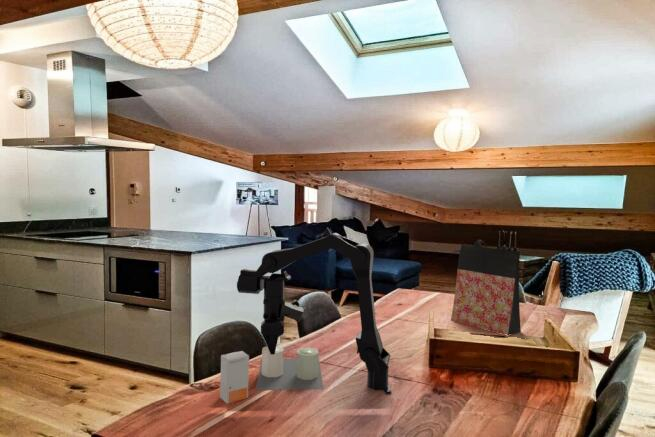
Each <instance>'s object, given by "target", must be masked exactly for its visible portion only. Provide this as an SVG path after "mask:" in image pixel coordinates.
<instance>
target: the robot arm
mask: <svg viewBox="0 0 655 437" xmlns="http://www.w3.org/2000/svg"><path fill="white" fill-rule="evenodd" d="M329 250H333V251H336V252H337V253H338V254H340V255H341V256H343V257H344V258H347V259H348V260H349V261H350V265H351V269H352V271H353V273H354V276H355V278H356V285H357V296H358V297H357V298H358V306H359V315H360V326H361V331H358V333H357V335H356V337H355V342H356V347H357V350H356V355H357V354H359V355H358V356H359V359H360V361H362V362H363V363H364V364H365V367H366V370H367V376H366V377H367V378H366V379H367V380H366V386H367V387H368V388H369V389H371V390H373V391H383V393H384V394H392V389H391V387H390V385H389V369H390V368H389V367H390V366H389V363H390V358H391V353H390V352H388V351H387V350H386V349H385V348H384V345H383V342H382V337H381V335H380V331H379V330H378V327H377V321H376V310H375V302H374V300H375V299H374V291H373V290H374V289H373V281H372V280H373V278H372V273H373V272H372V271H373V264H374V249H373V247H372V246H371V245H369V244H368V243H363V242H362V243H361V242H360V243H359V242H357V241H355V240H353V239H350V238H347V237H344V236H342V235H341V234H339V233H337V232H334V233H331V234H329V235H327V236H325V237H322V238H319V239H316V240H313V241H310V242H307V243H305V244H302V245H298V246H296V247H295V246H294V247H292V248H283V249H278V250H277V249H276V250H273V251H270V252H267V253H265V254H264V255H263V256H262V257H261V264H260V265H259V267H258V268H257V269H256V270H253V269H247V268H243V269H240V272H239V273H240V274H239V275H238V277H237V278H238V279H237V281H236V289H237V292H238V293H242V294H250V295H251V294H253V295H259V294H260V293H261V291H262V292H263V300H262V301H263V302H262V304H263V314H262V319H264V320H263V321H262V322H261V325H260V334H261V336H262V338H263V340H264V342H265V344H266V347H268V349H269V351H270V354H275V350H276V346H278V340H279V338H280V337H281V336H283V335H284V334H285V322H284V321H285V318H288V319H291V320H294V321H295V322H297V323H299V322H301V321H302V320H301V319H302V317H303V314H304V308H303V307H302V306H300V301H299V300H296V299H294V300H293V301H292V302H287V301H286V298H285V282H288V281H289V280H291V279H292V276H291V275H290V274H289V273H288V272H287V270H285V271H283V272H282V273H276V272H279V271H281V270H282V269H284V268H286V267H288V266H290V265H291V264H293V263H295V262H296V261H300V260H303V259H305V258H309V257H311V256H314V255H318V254H320V253H323V252H327V251H329ZM267 274H270V275H267Z"/></svg>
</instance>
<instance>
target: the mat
mask: <svg viewBox="0 0 655 437" xmlns="http://www.w3.org/2000/svg"><path fill="white" fill-rule="evenodd" d="M323 383H324V382H323V379H322V370H321V364H320V360H319V361H318V377H317V378H315V379H313V380H302V379H300V378H297V358H283V375H281V376H278V377H266V376H263V375H262V358H261V359H260V364H259V369H258V375H257V381H256V385H255V391H276V390H277V391H283V390H284V391H285V390H286V391H287V390H288V391H290V390H292V391H293V390H295V391H297V390H299V391H300V390H302V391H303V390H324V384H323Z"/></svg>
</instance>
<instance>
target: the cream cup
mask: <svg viewBox="0 0 655 437" xmlns="http://www.w3.org/2000/svg"><path fill="white" fill-rule="evenodd" d="M261 359H262V375H263V376H266V377H278V376H281V375H283V359H284V347H282V346H280V345H277V346H276V350H275V354H270V351H269V349H268V347H267V346H264V347H262V350H261Z"/></svg>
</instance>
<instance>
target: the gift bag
mask: <svg viewBox="0 0 655 437" xmlns="http://www.w3.org/2000/svg"><path fill="white" fill-rule="evenodd" d="M481 242H482V243H483V244H484V245H485V246H482V243H481ZM453 253H459V254H458V260H457V263H458V264H457V271H456V279H455V280H456V282H455V288H454V289H455V291H454V297H453V306H452V311H451V312H452V313H451V317H450V318H451V319H450V321H451V322H457V323H460V324H462V325H467V326H469V327H473V328H478V329H480V328H481V329H480V330H484V329H486V330H485V331H487V330H490V331H489V332H491V331H494V332H498V333H502V334H507V335H509V334H513V335H515V334H517V332H518V333H520V332H521V331H522V328H521V315H520V314H521V313H520V310H521V309H520V258H521V257H520V256H521V251H518V250H509V249H507V245H506V244H504V245H501V246H498V247H497V248H492V247H488V246H487V245H486V243H485V242H484V241H483V240H482V239H478V240H476V242H474V244H473V245H468V244H461V245H460V249H456V248H453ZM494 332H493V333H494ZM498 333H497V334H498ZM514 333H515V334H514Z"/></svg>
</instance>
